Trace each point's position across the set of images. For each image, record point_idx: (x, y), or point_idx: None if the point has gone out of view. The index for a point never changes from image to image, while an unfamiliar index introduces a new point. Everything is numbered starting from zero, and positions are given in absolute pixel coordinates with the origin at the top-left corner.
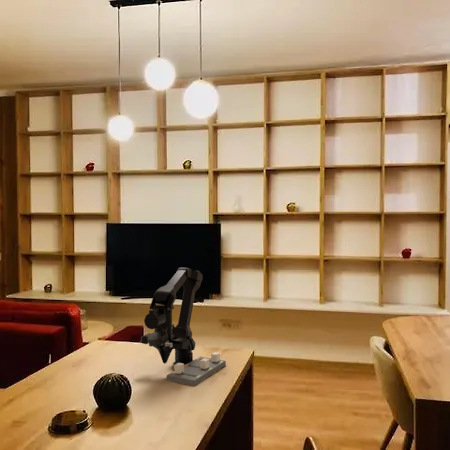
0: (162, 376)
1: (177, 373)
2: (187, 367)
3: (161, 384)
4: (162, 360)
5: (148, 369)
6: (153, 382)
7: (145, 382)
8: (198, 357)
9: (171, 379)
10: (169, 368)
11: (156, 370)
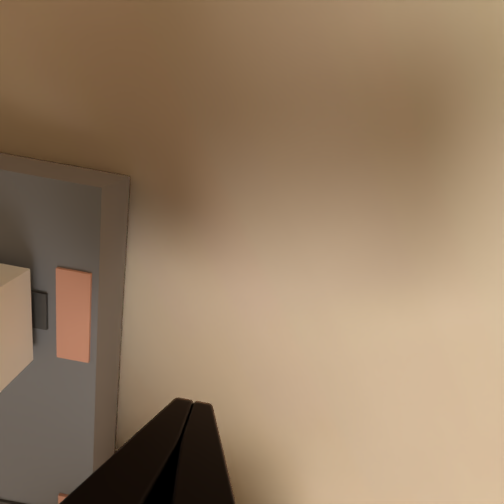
0: (248, 297)
1: None
2: (25, 474)
3: (137, 48)
4: (215, 436)
5: (476, 439)
6: (266, 84)
7: (370, 50)
8: None
9: (50, 167)
10: (275, 494)
11: (381, 431)
